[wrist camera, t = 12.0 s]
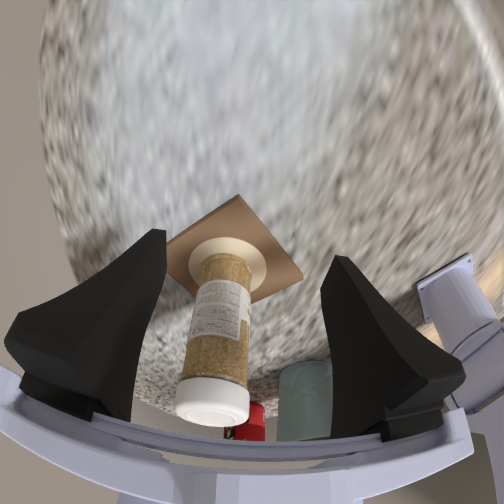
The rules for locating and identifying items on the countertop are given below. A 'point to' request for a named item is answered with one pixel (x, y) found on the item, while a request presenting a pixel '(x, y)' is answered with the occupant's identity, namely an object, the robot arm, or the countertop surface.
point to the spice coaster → (232, 250)
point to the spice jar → (218, 346)
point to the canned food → (249, 426)
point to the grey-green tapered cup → (305, 402)
